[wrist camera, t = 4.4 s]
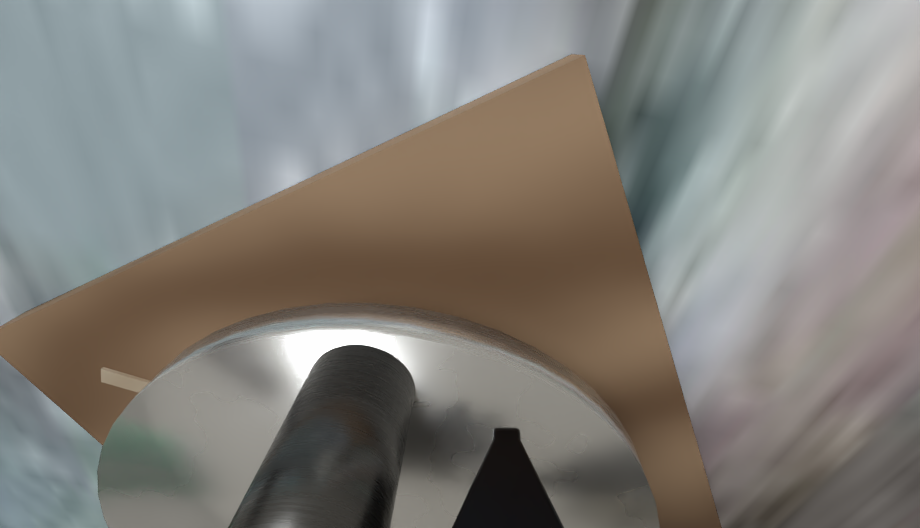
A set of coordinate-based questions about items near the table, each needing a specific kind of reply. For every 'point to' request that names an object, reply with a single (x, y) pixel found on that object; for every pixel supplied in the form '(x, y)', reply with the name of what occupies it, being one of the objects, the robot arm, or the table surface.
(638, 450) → the base plate
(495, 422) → the handwheel
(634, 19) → the table surface
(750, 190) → the table surface
